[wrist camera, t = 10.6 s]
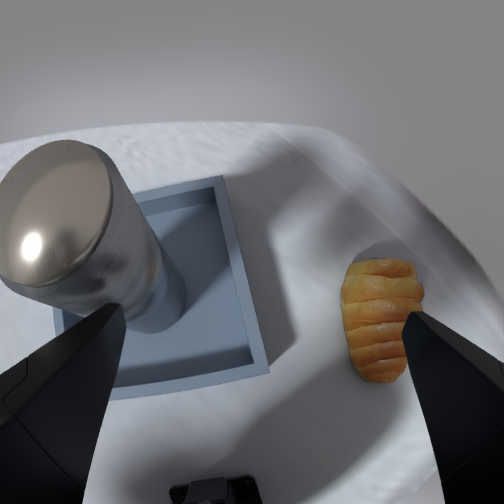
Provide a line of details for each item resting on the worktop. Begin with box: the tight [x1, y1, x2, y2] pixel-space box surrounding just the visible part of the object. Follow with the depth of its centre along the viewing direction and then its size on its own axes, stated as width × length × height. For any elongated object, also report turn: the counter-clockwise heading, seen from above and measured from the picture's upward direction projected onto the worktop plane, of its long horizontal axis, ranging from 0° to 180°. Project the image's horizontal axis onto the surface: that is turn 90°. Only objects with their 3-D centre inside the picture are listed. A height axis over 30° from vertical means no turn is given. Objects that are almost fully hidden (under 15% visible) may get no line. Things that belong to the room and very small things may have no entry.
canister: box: [0, 140, 187, 334], centre depth 15 cm, size 6×6×15 cm
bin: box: [53, 175, 270, 401], centre depth 21 cm, size 14×14×3 cm
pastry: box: [341, 258, 424, 383], centre depth 21 cm, size 9×7×4 cm
